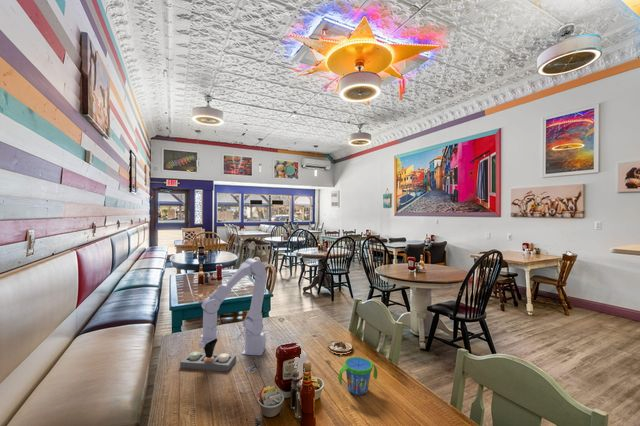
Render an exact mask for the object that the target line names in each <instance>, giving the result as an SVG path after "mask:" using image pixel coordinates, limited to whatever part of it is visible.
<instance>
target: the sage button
mask: <svg viewBox="0 0 640 426" xmlns="http://www.w3.org/2000/svg"><path fill="white" fill-rule="evenodd" d="M191 352H192V353H191ZM191 352H190V353H188V355H189V360H193V361H198V360H199V359H200V353H201V352H200V351H191Z"/></svg>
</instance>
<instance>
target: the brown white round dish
mask: <svg viewBox="0 0 640 426" xmlns="http://www.w3.org/2000/svg"><path fill="white" fill-rule="evenodd" d="M345 343H346V344H347V345H349V346H350V347H351V348H349V350H347V349H346V348H348V346H347V345H345ZM331 345H333V346H331ZM328 348H329V349H330V350H331V351H333V352H336V353H347V352H350V351H352V352H353V351H354V350H353V349H354V346H353V344H352V343H351V342H350V341H349V340H348V341H346V340H331V341H330V342H329V343H328V346H327V349H328ZM329 349H328V350H329ZM345 349H346V350H345Z"/></svg>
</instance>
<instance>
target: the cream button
mask: <svg viewBox="0 0 640 426" xmlns="http://www.w3.org/2000/svg"><path fill="white" fill-rule="evenodd" d="M219 354H220V355H219V356H218V362H223V363H227V362H228V361H229V353H219Z"/></svg>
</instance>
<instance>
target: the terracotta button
mask: <svg viewBox="0 0 640 426" xmlns="http://www.w3.org/2000/svg"><path fill="white" fill-rule="evenodd" d="M213 360H214V357H213V356H212V357H211V358H206V357H205V358H204V361H208V362H212V361H213Z"/></svg>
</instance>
